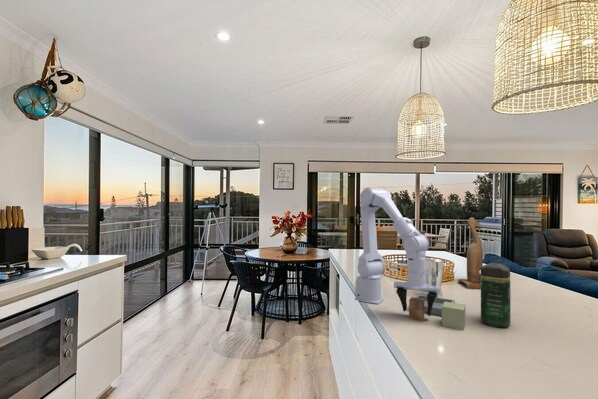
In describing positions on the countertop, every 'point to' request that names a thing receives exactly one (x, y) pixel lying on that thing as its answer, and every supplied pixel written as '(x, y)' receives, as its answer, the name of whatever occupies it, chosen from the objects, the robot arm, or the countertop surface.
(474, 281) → the bird sculpture
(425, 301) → the grey tray
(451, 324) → the olive block
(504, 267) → the coffee jar
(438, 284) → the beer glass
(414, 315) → the walnut block
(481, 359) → the countertop surface
